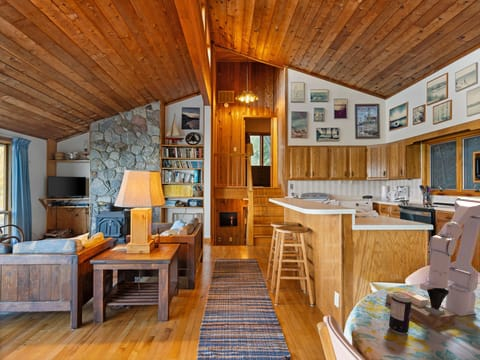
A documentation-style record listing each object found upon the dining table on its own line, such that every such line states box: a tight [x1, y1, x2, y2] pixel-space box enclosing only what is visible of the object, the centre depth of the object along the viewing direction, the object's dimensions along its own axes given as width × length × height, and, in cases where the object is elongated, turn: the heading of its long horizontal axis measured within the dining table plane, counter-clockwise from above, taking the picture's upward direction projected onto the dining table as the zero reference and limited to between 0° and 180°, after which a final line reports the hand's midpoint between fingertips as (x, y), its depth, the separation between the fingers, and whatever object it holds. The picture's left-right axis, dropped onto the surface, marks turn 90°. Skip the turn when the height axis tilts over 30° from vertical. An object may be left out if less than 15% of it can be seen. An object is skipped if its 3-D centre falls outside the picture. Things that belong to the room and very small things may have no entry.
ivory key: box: [411, 294, 430, 307], centre depth 112 cm, size 4×4×3 cm
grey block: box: [425, 305, 444, 316], centre depth 107 cm, size 4×4×3 cm
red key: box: [399, 290, 414, 297], centre depth 118 cm, size 4×4×3 cm
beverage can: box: [388, 291, 412, 335], centre depth 98 cm, size 6×6×12 cm
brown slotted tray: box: [385, 291, 457, 329], centre depth 112 cm, size 12×19×4 cm, turn 21°
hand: (434, 308), depth 107 cm, fingers closed, pressing on grey block
